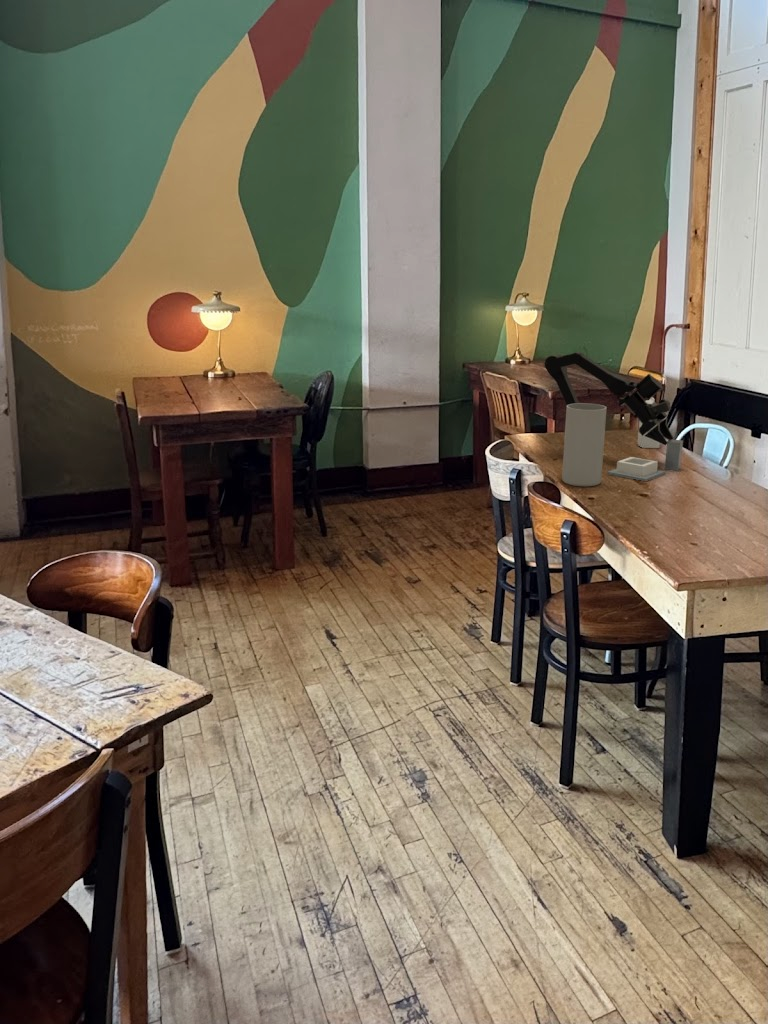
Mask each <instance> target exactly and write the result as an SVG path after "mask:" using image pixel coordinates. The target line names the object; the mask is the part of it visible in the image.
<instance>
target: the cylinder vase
mask: <svg viewBox="0 0 768 1024" xmlns="http://www.w3.org/2000/svg"><path fill="white" fill-rule="evenodd" d="M607 408H608V407H607V406H605V405H602V404H598V403H589V402H588V403H586V402H585V403H581V402H579V403H577V404H569V405H567V406H566V409H565V412H566V413H565V414H566V415H565V427H564V440H563V441H564V442H563V443H564V444H563V456H562V457H563V458H562V459H563V460H562V474H561V475H562V476H561V478H562V479H561V481H562V482H563V483H565V484H566V485H569V486H575V487H582V488H583V487H596V486H598V485H600V484H601V482H602V474H603V460H604V450H605V449H604V446H605V445H604V444H605V433H606V421H607Z"/></svg>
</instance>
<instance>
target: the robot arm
mask: <svg viewBox="0 0 768 1024" xmlns="http://www.w3.org/2000/svg"><path fill="white" fill-rule="evenodd" d="M571 365H576V366H577V367H579V368H581V369H583V370H584V371H585V372H587V373H588V374H590V375H591V376H593V377H594V378H595V379H598V380H599V381H601V382H602V383H603V384H604V385H605V387H606V388H607V389H608V390H609V391H610V392H611V393H612V394H613V395H615V396H617V397H619V398H618V405H617V406H618V407H622V406H623V405H625V406H626V407H627V408H628V409H629V410H630V411H631V412H632V414H633V417H634V419H638V420H639V421H640V422H641V423H642V426H641V427H640V428H639V427H638V431H639V432H640V434H641V435H642V436H643V435H644V434H645V433H647V434H646V435H645V437H648V438H651V439H653V440H655V441H657V442H659V443H660V445H661V444H662V445H664V446H667V440H666V439H668V440H670V439H673V440H674V437H673V435H672V433H671V431H670V429H669V426H668V419H669V418H668V414H666V413H667V412H669V411H671V410H672V408H671V402H669V400H666V399H665V398H663V399H660V400H658V403H656V404H657V405H655V406H652V405H651V404H647V403H645V402H646V400H645V399H647V400H648V399H649V400H650V398H651V397H653V398H654V396H655V395H656V394H657V393H658V392H660V391H661V390H662V389H663V387H664V386H663V384H662V383H661V382H660V380H658V379H656V378H655V377H654V376H653V375H651V373H648V374H647V375H645V377H644V378H643V379H642V380H640V382H636V381H635V382H634V381H631V380H630V379H629V378H628V377H625V376H623V375H620V374H617V373H615V372H614V373H613V371H612V372H611V371H609V370H608V369H606V368H605V367H604V366H602V365H601V364H599V363H597V362H596V361H594V360H593V359H592V358H590V357H588V355H585V354H584V353H583V352H581V351H577V352H572V353H568V354H565V355H562V354H558V353H555V354H553V355H550V356H548V357H546V359H545V361H544V365H543V366H544V368H545V370H546V371H547V373H548V374H549V376H550V377H551V378H552V379H553V380H554V381H555V383H556V384H557V387H558V389H559V391H560V394H561V396H562V399H563V400H564V403H565V405H566V407H567V405H569V404H577V403H580V401H579V399H578V396H577V395H576V393H575V390H574V387H573V386H572V383H571V381H570V378H569V376H568V366H571ZM632 392H633V393H632ZM627 393H628V394H627ZM625 394H626V395H625ZM623 395H625V396H624V397H621V396H623ZM639 421H638V422H639Z"/></svg>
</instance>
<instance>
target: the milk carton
mask: <svg viewBox="0 0 768 1024" xmlns="http://www.w3.org/2000/svg"><path fill="white" fill-rule="evenodd" d="M655 400H656V399H655V398H654V396H653V397H651V398H650V399H649V400H648V399H647V400H645V401H646V402H645V403H647V404H651V405H652V406H655V405H657V404H658V403H656V401H655ZM641 426H642V423H641V422H640V421H638V429H639V428H640V427H641ZM637 432H638V434H637V442H636V443H637V445H638V447H639V446H640V447H642V448H641V449H660V446H661V443H659V442H657V441H655V440H653V439H651V438H648V437H645V435H646V434H647V433H645V434H644V435H643V436H642V435H641V434H640V432H639V430H638V431H637ZM640 447H639V448H640Z"/></svg>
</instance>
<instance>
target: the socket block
mask: <svg viewBox="0 0 768 1024" xmlns="http://www.w3.org/2000/svg"><path fill="white" fill-rule="evenodd" d="M658 463H659V461H657V460H653V459H646V458H640V457H636V456H630V457H627V458H624V459H620V460H618V461H616V468H615V469H611V470H609V471H607V475H609V476H612V475H613V477H618V476H619V477H618V478H623V477H625V478H624V479H628V478H630V479H629V480H633V479H636V480H635V481H638V480H641V481H640V482H643V481H647V482H649V481H652V480H654V479H657V478H659V476H660V477H662V476H665V475H666V471H667V470H661V469H658ZM664 474H665V475H664ZM651 479H652V480H651ZM648 480H649V481H648Z"/></svg>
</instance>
